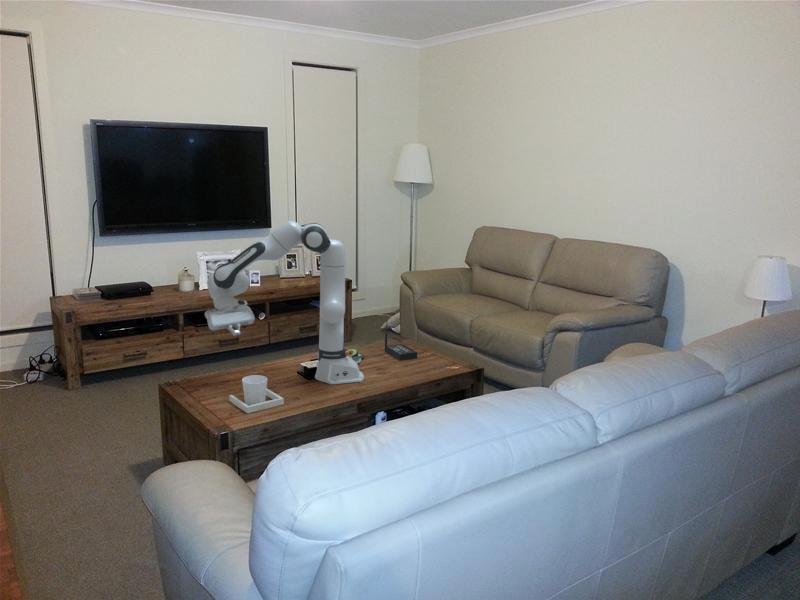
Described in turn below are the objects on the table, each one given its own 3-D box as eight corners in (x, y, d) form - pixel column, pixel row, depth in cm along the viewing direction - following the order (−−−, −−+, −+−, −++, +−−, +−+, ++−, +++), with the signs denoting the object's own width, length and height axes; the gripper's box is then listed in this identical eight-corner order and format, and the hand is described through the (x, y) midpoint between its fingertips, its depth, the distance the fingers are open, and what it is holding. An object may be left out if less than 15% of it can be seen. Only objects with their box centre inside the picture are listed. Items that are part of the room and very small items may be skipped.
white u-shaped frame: (229, 401, 253) (229, 395, 253) (265, 392, 264) (265, 387, 263) (247, 413, 242) (247, 407, 242) (283, 404, 253) (283, 398, 252)
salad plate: (361, 369, 301) (362, 360, 300) (325, 367, 301) (325, 358, 300) (364, 356, 319) (365, 348, 318) (330, 354, 320) (330, 346, 319)
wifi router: (419, 358, 321) (421, 326, 317) (396, 361, 314) (398, 329, 310) (400, 347, 338) (402, 317, 334) (378, 350, 331) (379, 319, 327)
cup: (268, 405, 251) (269, 382, 248) (243, 408, 247) (243, 384, 245) (265, 396, 260) (265, 374, 258) (241, 398, 256) (240, 376, 254)
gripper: (205, 307, 260) (216, 335, 255) (249, 300, 273) (260, 327, 268) (201, 314, 264) (211, 342, 260) (245, 307, 277) (256, 334, 273)
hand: (237, 334), depth 264 cm, fingers closed
